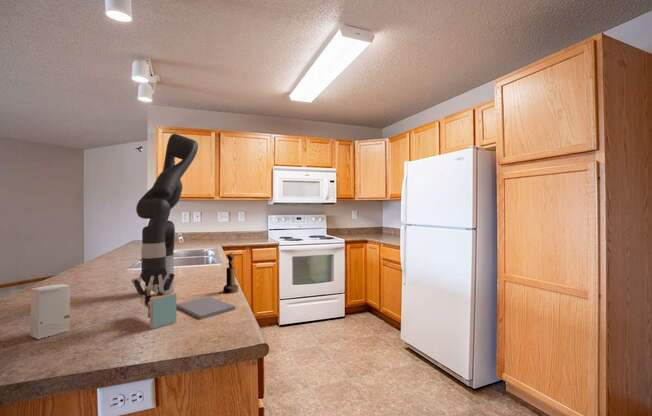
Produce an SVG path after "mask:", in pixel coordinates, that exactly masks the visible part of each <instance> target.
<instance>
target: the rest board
mask: <svg viewBox="0 0 652 416" xmlns="http://www.w3.org/2000/svg"><path fill="white" fill-rule="evenodd" d="M176 309H179V310H181V311H183V312H184V313H187V314H189V315H191V316H193V317H195V318H198V319H200V320H204V319H206V318H209V317H214V316H217V315H220V314H224V313H228V312H231V311H234V310H236V305H234V304H231V303H228V302H225V301H222V300H219V299H217V298H215V297H212V296H206V297H202V298H196V299H193V300H189V301H183V302H180V303H176Z"/></svg>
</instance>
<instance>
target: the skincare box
mask: <svg viewBox="0 0 652 416" xmlns="http://www.w3.org/2000/svg"><path fill="white" fill-rule="evenodd" d="M70 312H71V285H69V284H66V283H65V284H64V283H59V284H52V285H45V286H39V287H33V288H30V329H29V330H30V334H29V335H30V337H32V338H34V339H35V338H36V340H37V339H39V340H41V338H42V339H45V338H49V337H52V336H54V335H55V336H56V335H58V334H62V333H66V332H69V331H70V321H71V320H70V314H71V313H70ZM48 336H49V337H48ZM44 337H45V338H44Z"/></svg>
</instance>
